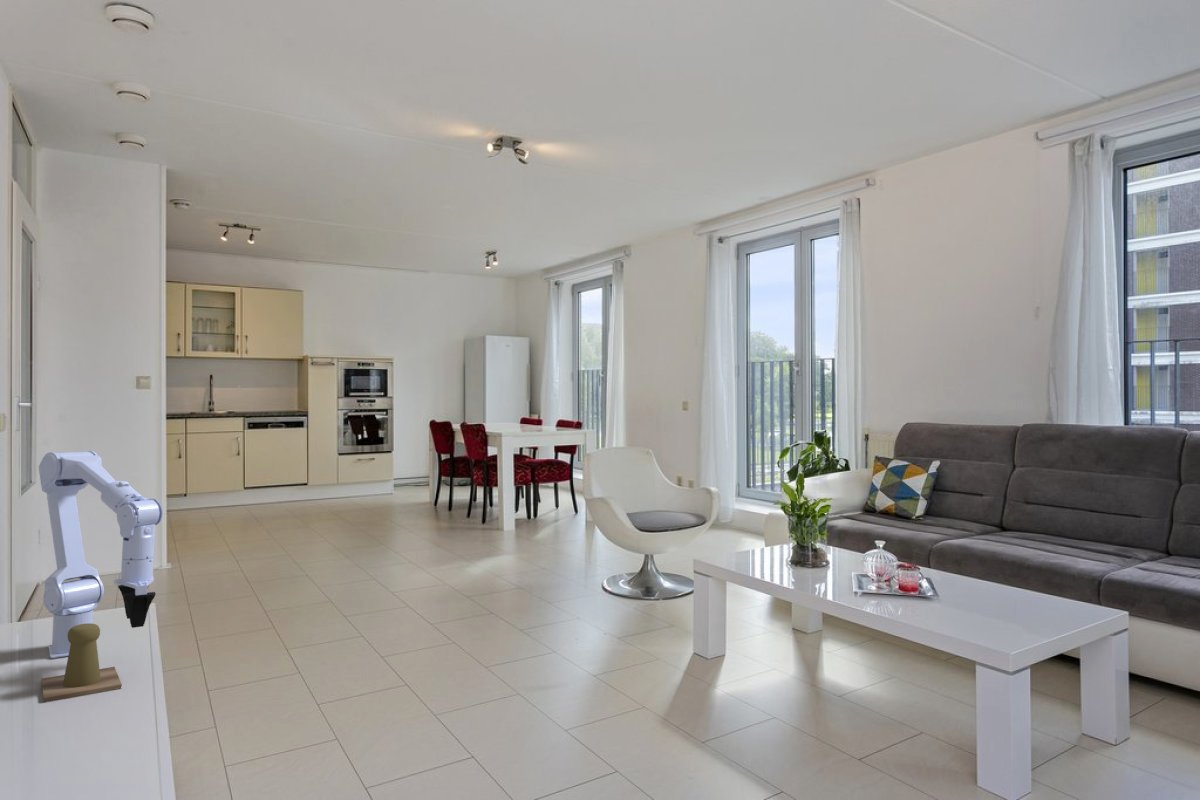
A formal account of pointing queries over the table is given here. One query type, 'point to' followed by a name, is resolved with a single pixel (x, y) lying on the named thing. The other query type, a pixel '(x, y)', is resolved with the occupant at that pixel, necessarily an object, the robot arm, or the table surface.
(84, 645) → the cork
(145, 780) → the table surface
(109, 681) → the light brown board
